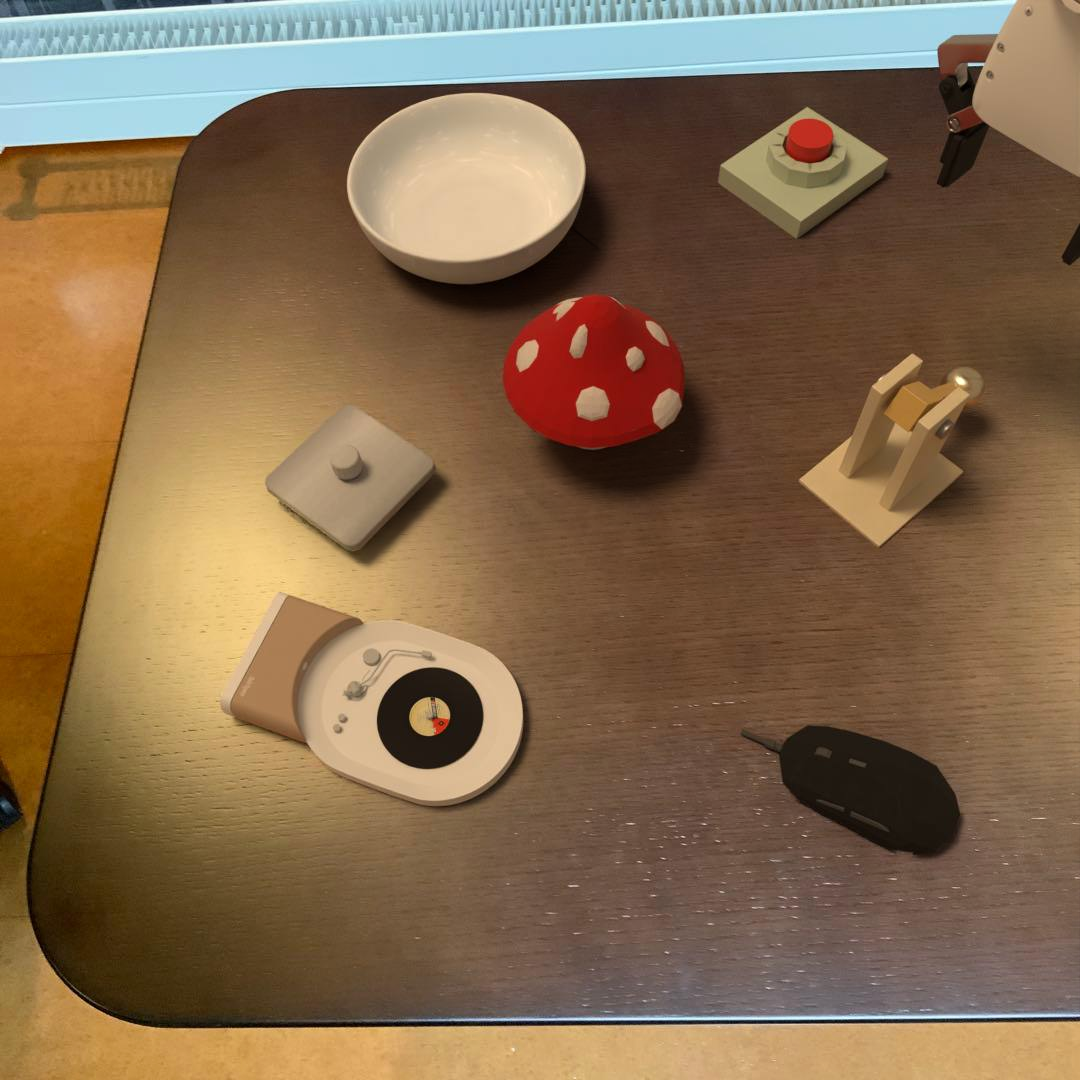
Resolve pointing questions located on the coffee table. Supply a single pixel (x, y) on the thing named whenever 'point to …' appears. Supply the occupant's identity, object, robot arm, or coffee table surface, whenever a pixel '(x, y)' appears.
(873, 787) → the gaming mouse
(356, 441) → the light switch
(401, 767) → the record player
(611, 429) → the decorative mushroom
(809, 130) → the lamp button
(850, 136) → the lamp box
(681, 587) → the coffee table surface
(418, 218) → the serving bowl
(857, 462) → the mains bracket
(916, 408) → the lever
